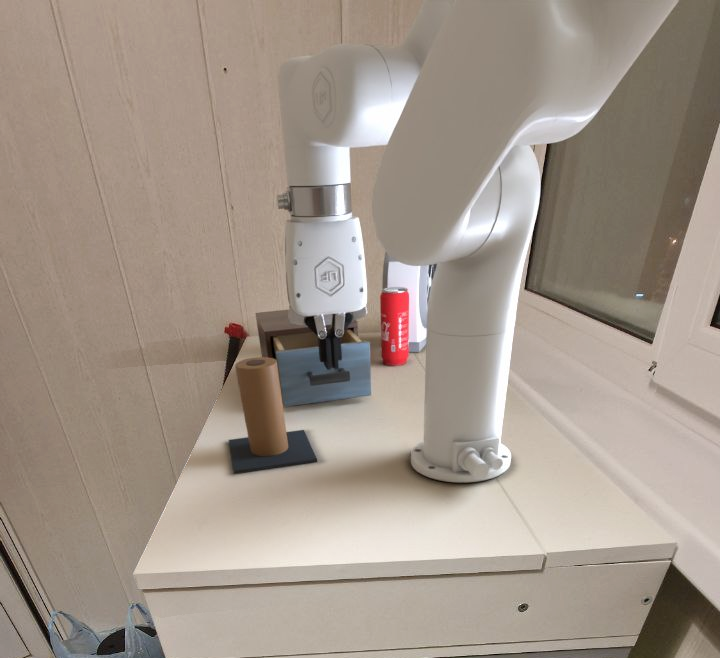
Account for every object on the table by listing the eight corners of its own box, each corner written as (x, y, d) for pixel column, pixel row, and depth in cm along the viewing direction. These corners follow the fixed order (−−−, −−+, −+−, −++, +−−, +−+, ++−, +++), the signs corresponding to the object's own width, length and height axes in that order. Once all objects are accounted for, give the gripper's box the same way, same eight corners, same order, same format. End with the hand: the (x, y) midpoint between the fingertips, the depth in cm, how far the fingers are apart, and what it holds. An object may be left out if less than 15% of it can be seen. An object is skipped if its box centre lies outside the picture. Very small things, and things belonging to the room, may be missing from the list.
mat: (317, 461, 73) (317, 458, 73) (234, 473, 72) (233, 470, 71) (304, 432, 81) (303, 429, 81) (229, 442, 80) (228, 439, 80)
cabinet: (360, 382, 98) (357, 321, 92) (273, 393, 96) (264, 331, 89) (342, 360, 109) (338, 304, 103) (263, 369, 107) (255, 312, 101)
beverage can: (406, 366, 104) (407, 292, 96) (379, 366, 105) (377, 292, 97) (410, 358, 108) (411, 286, 100) (384, 358, 109) (382, 287, 101)
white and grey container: (422, 357, 108) (426, 229, 95) (381, 355, 110) (378, 230, 97) (441, 334, 121) (446, 218, 108) (403, 333, 123) (404, 220, 110)
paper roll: (290, 453, 75) (279, 365, 68) (252, 458, 74) (236, 370, 67) (285, 439, 79) (274, 354, 71) (249, 444, 78) (233, 359, 71)
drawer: (378, 403, 87) (376, 349, 81) (287, 415, 85) (279, 360, 79) (351, 371, 100) (349, 322, 95) (272, 380, 98) (265, 331, 93)
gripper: (262, 210, 63) (282, 380, 75) (388, 202, 65) (388, 368, 78) (255, 206, 69) (276, 365, 81) (372, 198, 71) (374, 354, 83)
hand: (331, 366), depth 79 cm, fingers closed
